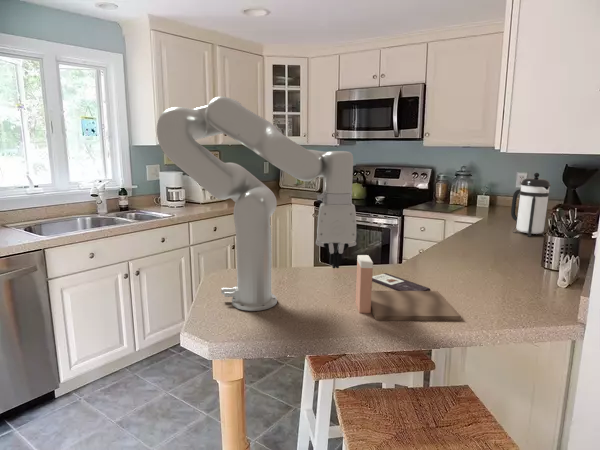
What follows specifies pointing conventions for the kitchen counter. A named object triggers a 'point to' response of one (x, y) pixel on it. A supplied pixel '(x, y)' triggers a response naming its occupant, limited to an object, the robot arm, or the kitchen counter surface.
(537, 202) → the coffee press
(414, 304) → the board
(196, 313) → the kitchen counter surface
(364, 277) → the slab
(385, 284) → the chocolate bar
